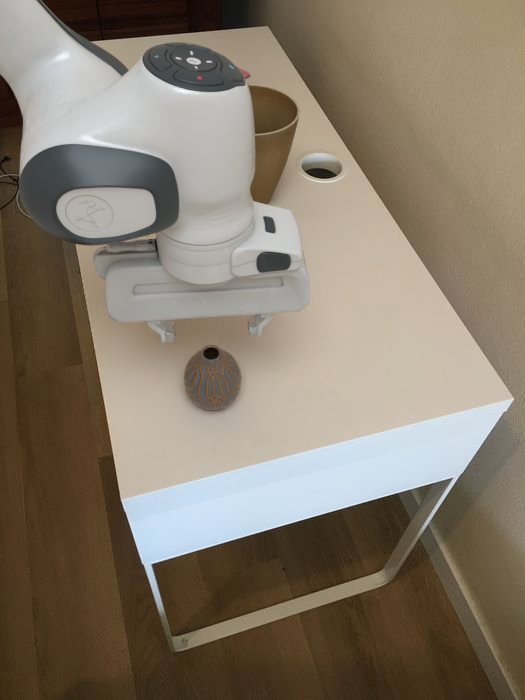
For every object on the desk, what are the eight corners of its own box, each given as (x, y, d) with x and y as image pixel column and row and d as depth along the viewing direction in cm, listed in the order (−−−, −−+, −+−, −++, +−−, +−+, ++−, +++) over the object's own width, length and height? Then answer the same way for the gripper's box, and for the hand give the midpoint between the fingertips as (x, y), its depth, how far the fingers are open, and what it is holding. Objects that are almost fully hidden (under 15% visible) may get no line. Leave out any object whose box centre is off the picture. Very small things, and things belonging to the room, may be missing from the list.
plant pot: (308, 208, 96) (319, 119, 84) (230, 236, 91) (229, 145, 78) (263, 162, 104) (267, 74, 91) (189, 185, 99) (182, 95, 86)
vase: (245, 414, 71) (246, 372, 64) (190, 423, 70) (184, 381, 63) (235, 369, 75) (235, 325, 68) (182, 377, 74) (177, 334, 67)
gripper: (85, 268, 49) (114, 364, 60) (320, 255, 51) (306, 351, 62) (91, 220, 53) (117, 319, 64) (309, 210, 55) (298, 308, 66)
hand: (212, 334), depth 63 cm, fingers open, 8 cm apart
